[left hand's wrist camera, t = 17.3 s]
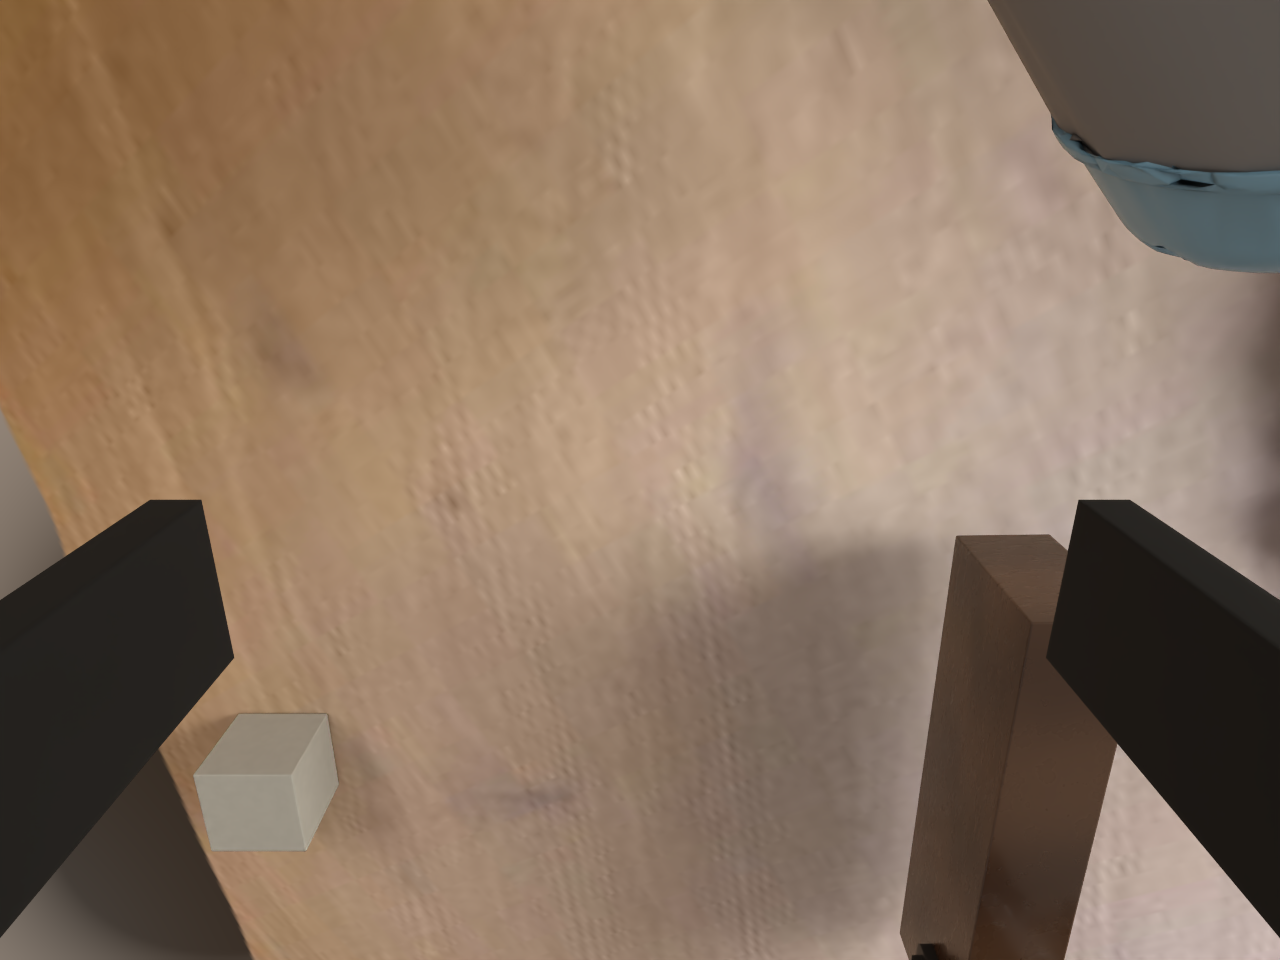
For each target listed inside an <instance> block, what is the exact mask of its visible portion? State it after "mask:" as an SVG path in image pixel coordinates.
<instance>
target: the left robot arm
mask: <svg viewBox="0 0 1280 960" xmlns="http://www.w3.org/2000/svg"><path fill="white" fill-rule="evenodd" d="M988 2H989V4H990V5H991V7H992V9H993V11H994V12H995V14H996V16H997V18H998V20H999V21H1000V23H1001V25H1002V27H1003V29H1004V30H1005V32H1006V34H1007V36H1008V38H1009V39H1010V41H1011V43H1012V45H1013V47H1014V48H1015V50H1016V52H1017V54H1018V56H1019V57H1020V59H1021V61H1022V63H1023V64H1024V66H1025V68H1026V70H1027V72H1028V73H1029V75H1030V77H1031V79H1032V81H1033V82H1034V84H1035V86H1036V88H1037V90H1038V91H1039V93H1040V95H1041V97H1042V99H1043V100H1044V102H1045V104H1046V106H1047V108H1048V109H1049V111H1050V113H1051V117H1052V130H1053V132H1054V134H1055V136H1056V138H1057V140H1058V141H1059V143H1060V144H1061V146H1062V147H1063V148H1064V149H1065V150H1066V151H1067V152H1068V153H1069V154H1070V155H1071V156H1072V157H1073V158H1075V159H1076V160H1078V161H1080V162H1082V163H1084V165H1085V166H1086V168H1087V169H1088V171H1089V172H1090V174H1091V175H1092V177H1093V178H1094V180H1095V182H1096V183H1097V185H1098V186H1099V188H1100V189H1101V191H1102V192H1103V194H1104V195H1105V197H1106V198H1107V200H1108V202H1109V203H1110V205H1111V206H1112V208H1113V209H1114V211H1115V212H1116V214H1117V215H1118V217H1119V218H1120V220H1121V221H1122V223H1123V224H1124V225H1125V226H1126V228H1127V229H1128V230H1129V231H1130V232H1131V233H1132V234H1133V235H1135V236H1136V237H1137V238H1138V239H1139V240H1140V241H1141V242H1143V243H1144V244H1146V245H1147V246H1149V247H1150V248H1152V249H1154V250H1156V251H1158V252H1162V253H1165V254H1169V255H1173V256H1177V257H1181V258H1183V259H1184V260H1189V261H1190V262H1192V263H1194V264H1196V265H1198V266H1202V267H1207V268H1211V269H1218V270H1226V271H1237V272H1252V273H1280V0H988ZM233 659H234V654H233V649H232V645H231V640H230V635H229V630H228V625H227V621H226V616H225V611H224V606H223V601H222V597H221V592H220V587H219V582H218V577H217V573H216V568H215V563H214V558H213V553H212V549H211V544H210V539H209V534H208V529H207V525H206V520H205V515H204V510H203V505H202V501H201V500H149V501H148V502H146V503H145V504H143V505H142V506H140V507H139V508H137V509H136V510H134V511H133V512H131V513H130V514H128V515H127V516H125V517H124V518H122V519H121V520H119V521H118V522H116V523H115V524H113V525H112V526H110V527H109V528H107V529H106V530H104V531H103V532H101V533H100V534H98V535H97V536H95V537H94V538H92V539H91V540H89V541H88V542H86V543H85V544H83V545H82V546H80V547H79V548H77V549H76V550H74V551H73V552H72V553H70V554H69V555H67V556H66V557H64V558H63V559H61V560H60V561H58V562H57V563H55V564H54V565H52V566H51V567H49V568H48V569H46V570H45V571H43V572H42V573H40V574H39V575H37V576H36V577H34V578H33V579H31V580H30V581H28V582H27V583H25V584H24V585H22V586H21V587H19V588H18V589H16V590H15V591H13V592H12V593H10V594H9V595H7V596H6V597H4V598H3V599H1V600H0V937H1V936H2V935H3V934H4V933H5V931H6V930H7V929H8V928H9V927H10V925H11V924H12V923H13V922H14V921H15V919H16V918H17V917H18V916H19V915H20V914H21V912H22V911H23V910H24V909H25V908H26V906H27V905H28V904H29V903H30V902H31V900H32V899H33V898H34V897H35V896H36V894H37V893H38V892H39V891H40V890H41V888H42V887H43V886H44V885H45V884H46V882H47V881H48V880H49V879H50V878H51V876H52V875H53V874H54V873H55V872H56V870H57V869H58V868H59V867H60V866H61V864H62V863H63V862H64V861H65V860H66V858H67V857H68V856H69V855H70V854H71V852H72V851H73V850H74V849H75V848H76V846H77V845H78V844H79V843H80V842H81V841H82V839H83V838H84V837H85V836H86V834H87V833H88V832H89V831H90V830H91V829H92V827H93V826H94V825H95V824H96V823H97V821H98V820H99V819H100V818H101V817H102V815H103V814H104V813H105V812H106V811H107V809H108V808H109V807H110V806H111V805H112V803H113V802H114V801H115V800H116V799H117V797H118V796H119V795H120V794H121V793H122V791H123V790H124V789H125V788H126V787H127V785H128V784H129V783H130V782H131V781H132V779H133V778H134V777H135V776H136V775H137V773H138V772H139V771H140V770H141V769H142V767H143V766H144V765H145V764H146V763H147V761H148V760H149V759H150V758H151V757H152V755H153V754H154V753H155V752H156V751H157V750H158V748H159V747H160V746H161V745H162V744H163V742H164V741H165V740H166V739H167V738H168V736H169V735H170V734H171V733H172V732H173V730H174V729H175V728H176V727H177V726H178V724H179V723H180V722H181V721H182V720H183V718H184V717H185V716H186V715H187V714H188V712H189V711H190V710H191V709H192V708H193V706H194V705H195V704H196V703H197V702H198V700H199V699H200V698H201V697H202V696H203V694H204V693H205V692H206V691H207V690H208V688H209V687H210V686H211V685H212V684H213V682H214V681H215V680H216V679H217V678H218V677H219V675H220V674H221V673H222V672H223V671H224V669H225V668H226V667H227V666H228V665H229V663H230V662H231V661H232V660H233ZM1046 659H1047V660H1048V661H1049V662H1050V663H1051V665H1052V666H1053V667H1054V668H1055V669H1056V671H1057V672H1058V673H1059V674H1060V675H1061V677H1062V678H1063V679H1064V680H1065V681H1066V682H1067V684H1068V685H1069V686H1070V687H1071V688H1072V690H1073V691H1074V692H1075V693H1076V694H1077V696H1078V697H1079V698H1080V699H1081V700H1082V702H1083V703H1084V704H1085V705H1086V706H1087V708H1088V709H1089V710H1090V711H1091V712H1092V714H1093V715H1094V716H1095V717H1096V718H1097V720H1098V721H1099V722H1100V723H1101V724H1102V726H1103V727H1104V728H1105V729H1106V730H1107V732H1108V733H1109V734H1110V735H1111V736H1112V738H1113V739H1114V740H1115V741H1116V742H1117V744H1118V745H1119V746H1120V747H1121V748H1122V750H1123V751H1124V752H1125V753H1126V754H1127V756H1128V757H1129V758H1130V759H1131V760H1132V761H1133V763H1134V764H1135V765H1136V766H1137V767H1138V769H1139V770H1140V771H1141V772H1142V773H1143V775H1144V776H1145V777H1146V778H1147V779H1148V781H1149V782H1150V783H1151V784H1152V785H1153V787H1154V788H1155V789H1156V790H1157V791H1158V793H1159V794H1160V795H1161V796H1162V797H1163V799H1164V800H1165V801H1166V802H1167V803H1168V805H1169V806H1170V807H1171V808H1172V809H1173V811H1174V812H1175V813H1176V814H1177V815H1178V817H1179V818H1180V819H1181V820H1182V821H1183V823H1184V824H1185V825H1186V826H1187V827H1188V829H1189V830H1190V831H1191V832H1192V833H1193V835H1194V836H1195V837H1196V838H1197V839H1198V841H1199V842H1200V843H1201V844H1202V845H1203V846H1204V848H1205V849H1206V850H1207V851H1208V852H1209V854H1210V855H1211V856H1212V857H1213V858H1214V860H1215V861H1216V862H1217V863H1218V864H1219V866H1220V867H1221V868H1222V869H1223V870H1224V872H1225V873H1226V874H1227V875H1228V876H1229V878H1230V879H1231V880H1232V881H1233V882H1234V884H1235V885H1236V886H1237V887H1238V888H1239V890H1240V891H1241V892H1242V893H1243V894H1244V896H1245V897H1246V898H1247V899H1248V900H1249V902H1250V903H1251V904H1252V905H1253V906H1254V908H1255V909H1256V910H1257V911H1258V912H1259V914H1260V915H1261V916H1262V917H1263V918H1264V920H1265V921H1266V922H1267V923H1268V924H1269V926H1270V927H1271V928H1272V929H1273V930H1274V931H1275V933H1276V934H1277V935H1278V936H1279V937H1280V600H1279V599H1277V598H1276V597H1274V596H1273V595H1271V594H1270V593H1268V592H1267V591H1265V590H1264V589H1262V588H1261V587H1259V586H1258V585H1256V584H1255V583H1253V582H1252V581H1250V580H1249V579H1247V578H1246V577H1244V576H1243V575H1241V574H1240V573H1238V572H1237V571H1235V570H1234V569H1232V568H1231V567H1229V566H1228V565H1226V564H1225V563H1223V562H1222V561H1220V560H1219V559H1217V558H1216V557H1214V556H1213V555H1211V554H1210V553H1208V552H1207V551H1206V550H1204V549H1203V548H1201V547H1200V546H1198V545H1197V544H1195V543H1194V542H1192V541H1191V540H1189V539H1188V538H1186V537H1185V536H1183V535H1182V534H1180V533H1179V532H1177V531H1176V530H1174V529H1173V528H1171V527H1170V526H1168V525H1167V524H1165V523H1164V522H1162V521H1161V520H1159V519H1158V518H1156V517H1155V516H1153V515H1152V514H1150V513H1149V512H1147V511H1146V510H1144V509H1143V508H1141V507H1140V506H1138V505H1137V504H1135V503H1134V502H1132V501H1131V500H1079V501H1078V505H1077V510H1076V515H1075V520H1074V525H1073V529H1072V534H1071V539H1070V544H1069V549H1068V553H1067V558H1066V563H1065V568H1064V573H1063V577H1062V582H1061V587H1060V592H1059V597H1058V601H1057V606H1056V611H1055V616H1054V621H1053V625H1052V630H1051V635H1050V640H1049V645H1048V649H1047V654H1046Z"/></svg>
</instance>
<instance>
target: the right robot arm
mask: <svg viewBox="0 0 1280 960" xmlns="http://www.w3.org/2000/svg"><path fill="white" fill-rule="evenodd" d="M911 960H938V957H937V954H936V952H935V949H934V947H933V945H932V944H931V943H929V944H918V946H917V953H916V955H912V958H911Z"/></svg>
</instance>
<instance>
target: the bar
mask: <svg viewBox="0 0 1280 960" xmlns="http://www.w3.org/2000/svg"><path fill="white" fill-rule="evenodd" d="M1067 553H1068V551H1067V550H1066V549H1065V548H1064V547H1063V546H1062V545H1061V544H1059V543H1058V542H1057V541H1056V540H1055V539H1054V538H1053V537H1052V536H1051V535H972V536H956V540H955V548H954V555H953V562H952V569H951V576H950V583H949V590H948V597H947V604H946V611H945V618H944V625H943V632H942V639H941V646H940V653H939V660H938V667H937V674H936V681H935V688H934V695H933V702H932V710H931V717H930V724H929V731H928V738H927V745H926V752H925V759H924V766H923V773H922V780H921V787H920V794H919V801H918V808H917V815H916V822H915V829H914V836H913V843H912V850H911V857H910V865H909V872H908V879H907V886H906V893H905V900H904V907H903V914H902V921H901V928H900V935H901V938H902V941H903V944H904V947H905V950H906V953H907V955H908V958H909V960H911V958H912V955H916V953H917V946H918V944H929V943H931V944H932V945H933V947H934V949H935V952H936V954H937V957H938V960H1064V958H1065V954H1066V950H1067V946H1068V942H1069V938H1070V934H1071V930H1072V925H1073V921H1074V917H1075V913H1076V909H1077V905H1078V901H1079V897H1080V893H1081V889H1082V885H1083V881H1084V877H1085V873H1086V869H1087V865H1088V861H1089V856H1090V852H1091V848H1092V844H1093V840H1094V836H1095V832H1096V828H1097V824H1098V820H1099V816H1100V812H1101V808H1102V804H1103V800H1104V796H1105V791H1106V787H1107V783H1108V779H1109V775H1110V771H1111V767H1112V763H1113V759H1114V755H1115V751H1116V747H1117V742H1116V741H1115V740H1114V739H1113V738H1112V736H1111V735H1110V734H1109V733H1108V732H1107V730H1106V729H1105V728H1104V727H1103V726H1102V724H1101V723H1100V722H1099V721H1098V720H1097V718H1096V717H1095V716H1094V715H1093V714H1092V712H1091V711H1090V710H1089V709H1088V708H1087V706H1086V705H1085V704H1084V703H1083V702H1082V700H1081V699H1080V698H1079V697H1078V696H1077V694H1076V693H1075V692H1074V691H1073V690H1072V688H1071V687H1070V686H1069V685H1068V684H1067V682H1066V681H1065V680H1064V679H1063V678H1062V677H1061V675H1060V674H1059V673H1058V672H1057V671H1056V669H1055V668H1054V667H1053V666H1052V665H1051V663H1050V662H1049V661H1048V660H1047V659H1046V654H1047V649H1048V645H1049V640H1050V635H1051V630H1052V625H1053V621H1054V616H1055V611H1056V606H1057V601H1058V597H1059V592H1060V587H1061V582H1062V577H1063V573H1064V568H1065V563H1066V558H1067Z"/></svg>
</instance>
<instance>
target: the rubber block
mask: <svg viewBox="0 0 1280 960" xmlns="http://www.w3.org/2000/svg"><path fill="white" fill-rule="evenodd" d="M193 777H194V781H195V785H196V789H197V793H198V797H199V801H200V805H201V810H202V814H203V818H204V822H205V826H206V830H207V834H208V838H209V842H210V846H211V850H212V851H306V850H307V848H308V846H309V844H310V842H311V840H312V838H313V836H314V834H315V832H316V830H317V828H318V826H319V824H320V822H321V820H322V818H323V816H324V814H325V812H326V810H327V808H328V806H329V804H330V802H331V800H332V797H333V795H334V793H335V791H336V789H337V787H338V785H339V782H338V776H337V770H336V764H335V758H334V752H333V746H332V740H331V734H330V728H329V722H328V715H327V714H238V715H237V717H236V718H235V719H234V721H233V722H232V723H231V725H230V726H229V728H228V729H227V730H226V732H225V733H224V734H223V736H222V737H221V738H220V740H219V741H218V742H217V744H216V745H215V746H214V748H213V749H212V750H211V752H210V753H209V755H208V756H207V757H206V759H205V760H204V761H203V763H202V764H201V765H200V767H199V768H198V769H197V771H196V772H195V773H194V775H193Z"/></svg>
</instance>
